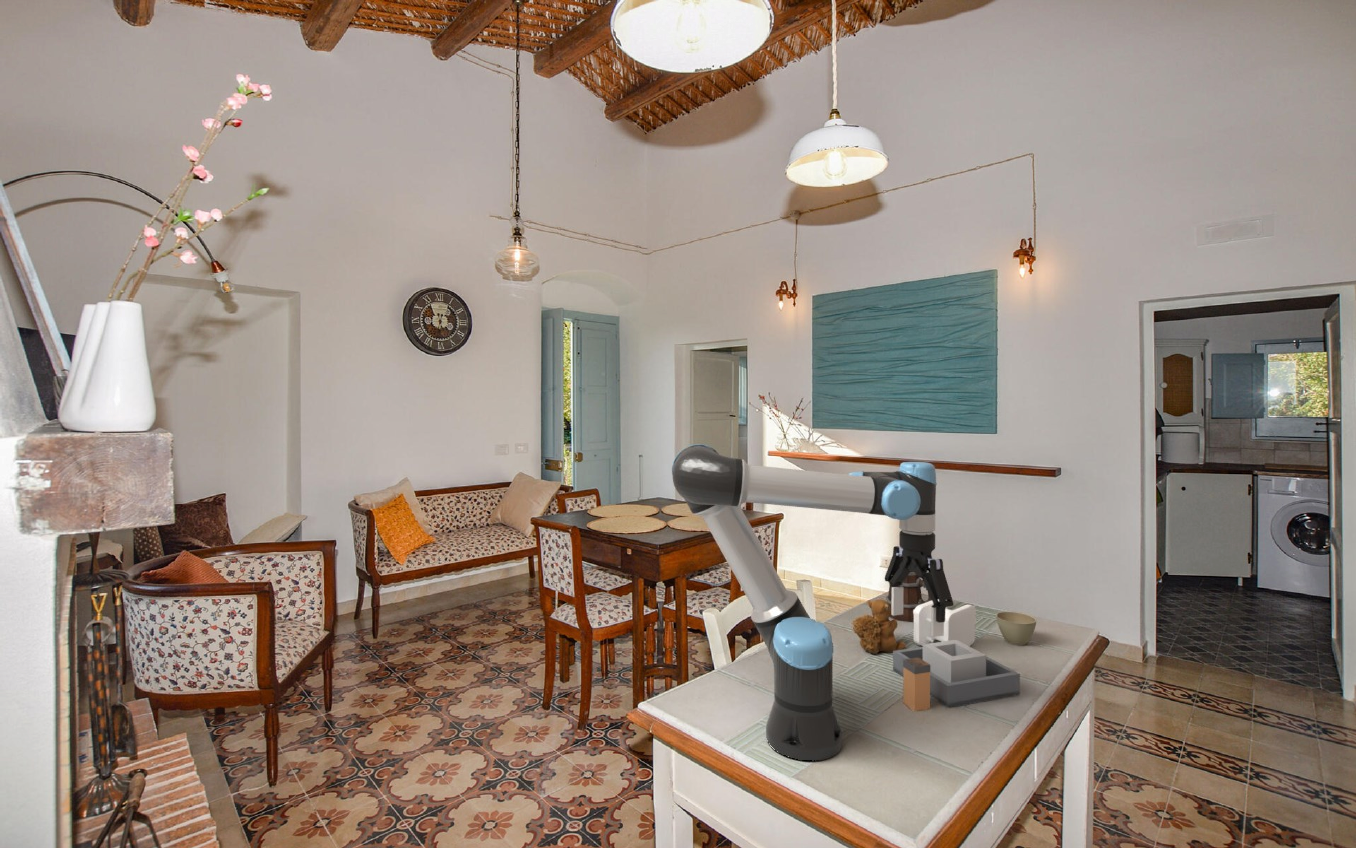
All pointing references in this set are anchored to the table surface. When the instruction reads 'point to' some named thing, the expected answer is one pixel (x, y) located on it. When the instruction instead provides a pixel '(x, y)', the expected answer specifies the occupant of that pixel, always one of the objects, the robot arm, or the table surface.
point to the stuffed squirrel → (877, 629)
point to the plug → (916, 684)
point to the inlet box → (961, 673)
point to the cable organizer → (945, 624)
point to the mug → (909, 597)
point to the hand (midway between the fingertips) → (916, 624)
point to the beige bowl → (1016, 627)
